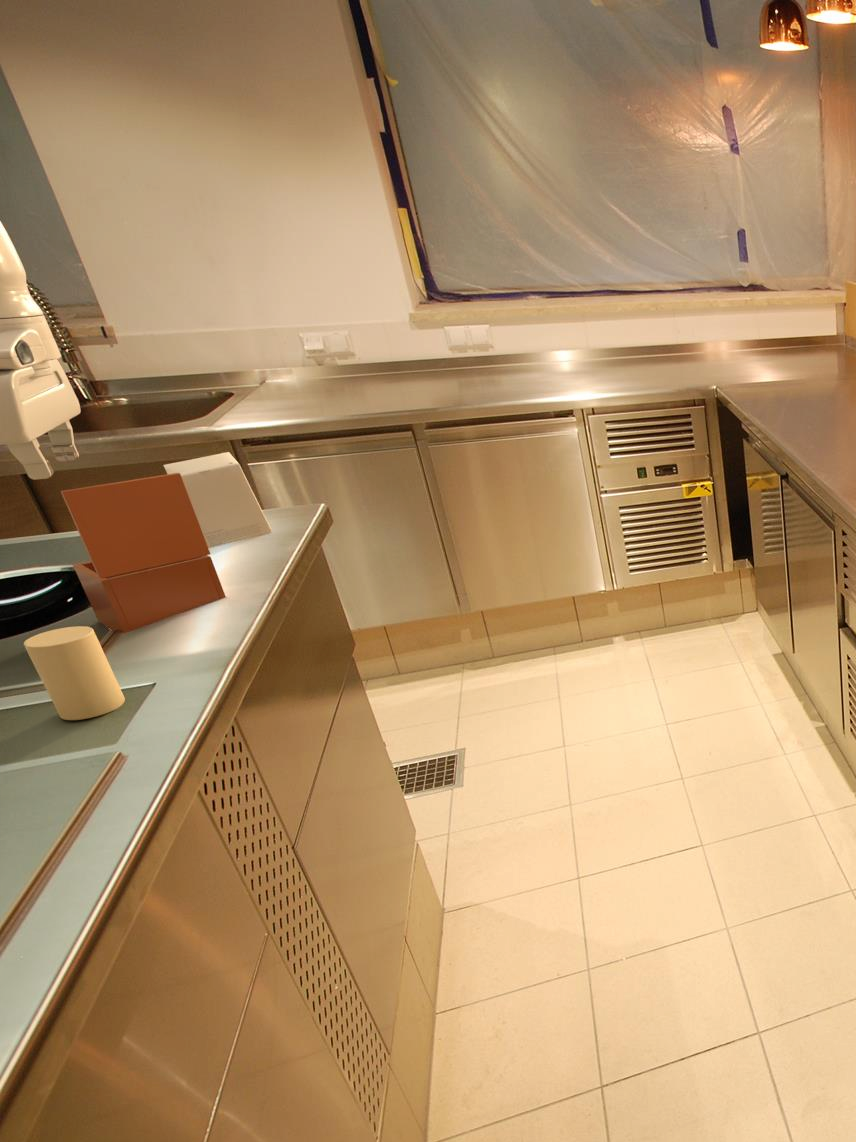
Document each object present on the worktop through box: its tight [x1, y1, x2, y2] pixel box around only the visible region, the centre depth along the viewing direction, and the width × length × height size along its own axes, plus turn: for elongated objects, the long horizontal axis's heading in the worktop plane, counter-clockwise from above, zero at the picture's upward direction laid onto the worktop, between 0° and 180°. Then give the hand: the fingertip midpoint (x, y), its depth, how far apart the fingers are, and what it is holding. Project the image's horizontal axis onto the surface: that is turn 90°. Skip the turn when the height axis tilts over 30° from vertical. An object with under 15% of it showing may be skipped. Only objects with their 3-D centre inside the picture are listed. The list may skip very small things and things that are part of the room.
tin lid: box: [60, 473, 211, 579], centre depth 108 cm, size 11×11×1 cm
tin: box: [72, 555, 227, 634], centre depth 114 cm, size 10×11×9 cm
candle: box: [23, 625, 126, 721], centre depth 93 cm, size 5×5×9 cm
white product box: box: [162, 451, 273, 549], centre depth 137 cm, size 9×9×15 cm
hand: (56, 468), depth 98 cm, fingers open, 8 cm apart
